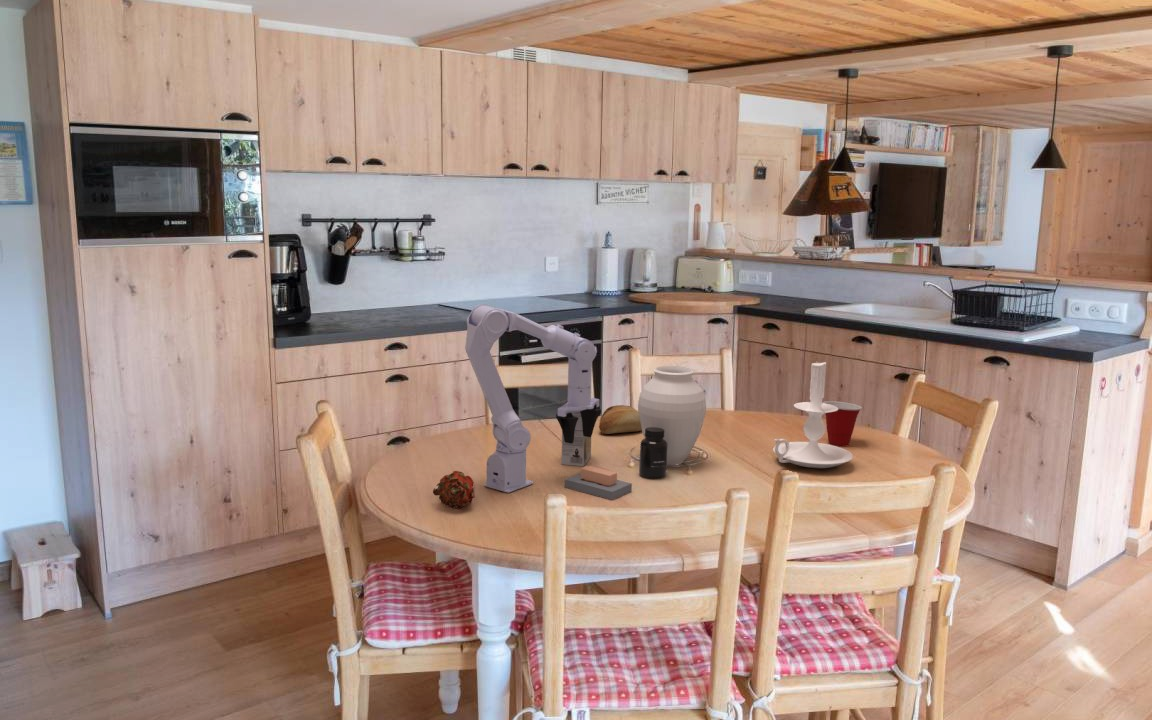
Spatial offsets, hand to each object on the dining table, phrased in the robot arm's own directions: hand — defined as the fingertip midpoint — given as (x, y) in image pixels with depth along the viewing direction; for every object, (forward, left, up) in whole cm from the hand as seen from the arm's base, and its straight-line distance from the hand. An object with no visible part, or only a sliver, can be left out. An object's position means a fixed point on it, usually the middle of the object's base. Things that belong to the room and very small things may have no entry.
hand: (578, 439), depth 221 cm
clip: (-5, -10, -9) cm, 15 cm away
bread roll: (+42, +16, -10) cm, 46 cm away
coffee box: (+10, +8, -10) cm, 16 cm away
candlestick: (+48, -40, -10) cm, 63 cm away
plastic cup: (+74, -39, -10) cm, 84 cm away
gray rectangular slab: (-5, -10, -9) cm, 15 cm away
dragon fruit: (-35, +8, -10) cm, 37 cm away
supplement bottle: (+13, -14, -10) cm, 21 cm away
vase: (+26, -11, -10) cm, 30 cm away
